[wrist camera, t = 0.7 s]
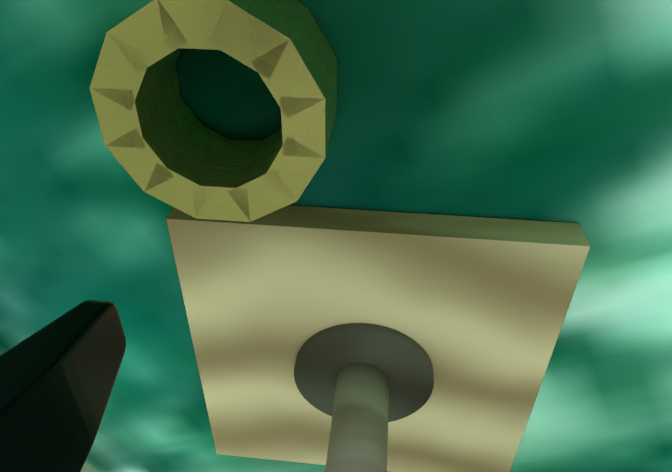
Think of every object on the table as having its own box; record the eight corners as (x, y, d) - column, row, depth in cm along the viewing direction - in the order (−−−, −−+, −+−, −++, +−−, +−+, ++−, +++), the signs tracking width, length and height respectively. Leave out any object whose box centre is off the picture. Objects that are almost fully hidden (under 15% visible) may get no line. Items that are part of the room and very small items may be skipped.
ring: (336, 175, 21) (325, 226, 18) (161, 165, 21) (123, 213, 18) (338, -23, 17) (324, 2, 14) (120, -30, 17) (64, -6, 14)
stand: (501, 457, 30) (524, 597, 24) (224, 430, 31) (184, 558, 26) (579, 223, 21) (644, 362, 15) (179, 198, 22) (101, 318, 16)
